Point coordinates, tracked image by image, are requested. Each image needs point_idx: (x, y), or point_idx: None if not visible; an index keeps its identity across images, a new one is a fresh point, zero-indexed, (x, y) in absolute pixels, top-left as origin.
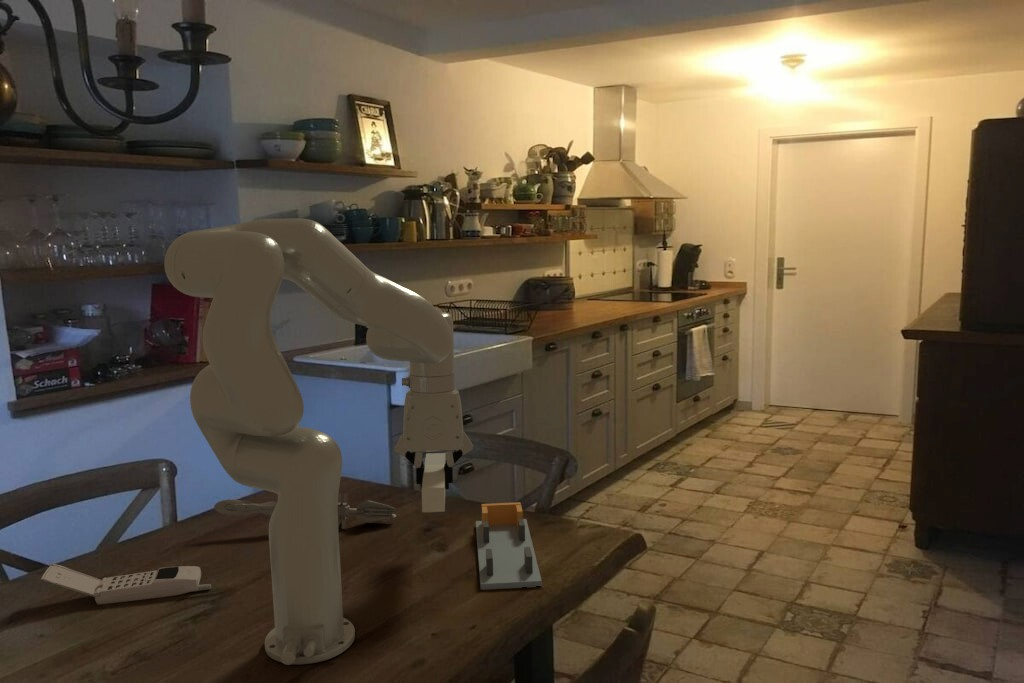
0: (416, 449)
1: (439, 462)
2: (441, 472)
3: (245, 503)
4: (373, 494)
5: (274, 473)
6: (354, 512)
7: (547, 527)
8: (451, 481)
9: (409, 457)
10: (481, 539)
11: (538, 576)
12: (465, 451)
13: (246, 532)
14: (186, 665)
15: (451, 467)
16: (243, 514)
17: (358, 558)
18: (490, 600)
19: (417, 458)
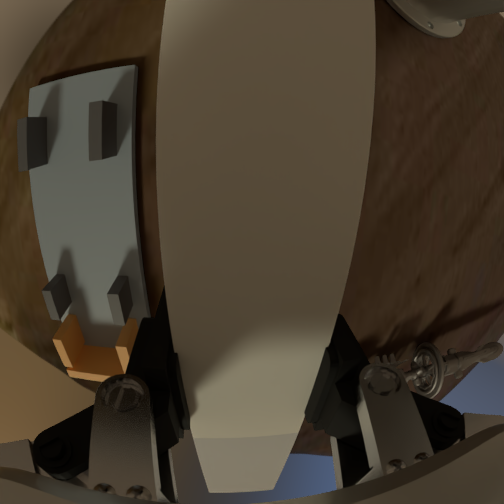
0: (485, 451)
1: (223, 452)
2: (196, 325)
3: (484, 358)
4: (316, 438)
5: None
6: None
7: (47, 334)
8: (148, 318)
9: (439, 413)
10: (134, 292)
11: (31, 106)
12: (18, 453)
13: (465, 336)
14: (498, 21)
15: (130, 381)
16: (481, 346)
17: (376, 249)
18: (126, 28)
19: (403, 415)
